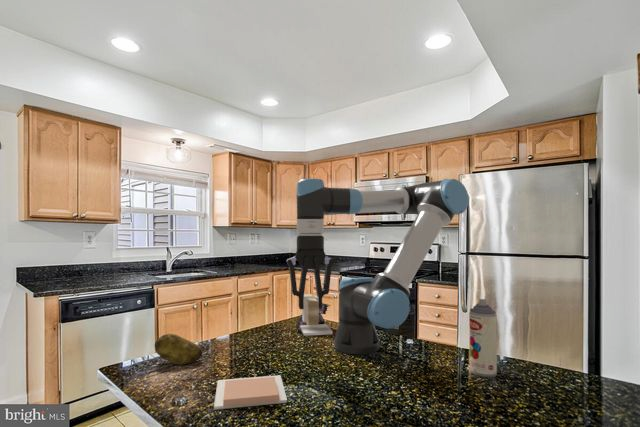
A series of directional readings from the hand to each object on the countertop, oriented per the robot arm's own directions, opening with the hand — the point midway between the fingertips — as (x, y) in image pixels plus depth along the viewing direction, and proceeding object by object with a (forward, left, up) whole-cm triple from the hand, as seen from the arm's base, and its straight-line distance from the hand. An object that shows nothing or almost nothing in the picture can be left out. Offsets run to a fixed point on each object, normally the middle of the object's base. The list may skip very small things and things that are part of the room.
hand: (310, 320), depth 99 cm
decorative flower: (-9, -40, -15) cm, 44 cm away
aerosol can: (-47, +9, -15) cm, 50 cm away
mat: (+16, +8, -14) cm, 23 cm away
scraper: (0, +3, 0) cm, 3 cm away
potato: (+36, -15, -15) cm, 42 cm away
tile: (+16, +6, -13) cm, 21 cm away
